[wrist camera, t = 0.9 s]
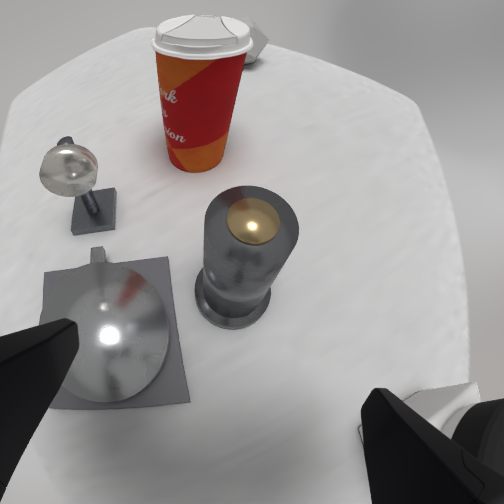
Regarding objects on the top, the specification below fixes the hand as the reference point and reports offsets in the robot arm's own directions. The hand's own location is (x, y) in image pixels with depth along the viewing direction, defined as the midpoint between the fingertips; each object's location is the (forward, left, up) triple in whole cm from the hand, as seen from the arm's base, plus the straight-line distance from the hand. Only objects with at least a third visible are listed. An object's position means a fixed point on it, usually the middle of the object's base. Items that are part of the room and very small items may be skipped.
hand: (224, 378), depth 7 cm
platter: (+5, +7, -12) cm, 15 cm away
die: (+44, -10, -13) cm, 47 cm away
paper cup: (+22, -2, -13) cm, 25 cm away
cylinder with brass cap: (+7, -3, -13) cm, 15 cm away
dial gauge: (+16, +8, -13) cm, 22 cm away
